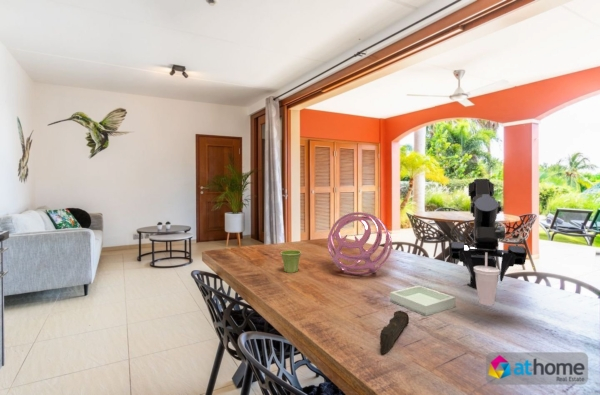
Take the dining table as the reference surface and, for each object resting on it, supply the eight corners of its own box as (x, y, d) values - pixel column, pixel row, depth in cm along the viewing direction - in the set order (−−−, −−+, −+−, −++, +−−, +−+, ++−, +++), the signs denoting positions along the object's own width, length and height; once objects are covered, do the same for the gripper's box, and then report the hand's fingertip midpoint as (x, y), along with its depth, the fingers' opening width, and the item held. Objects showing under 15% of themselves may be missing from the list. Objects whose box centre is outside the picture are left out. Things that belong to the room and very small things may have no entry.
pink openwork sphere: (352, 222, 163) (337, 194, 142) (405, 239, 147) (397, 211, 126) (327, 270, 154) (307, 247, 133) (381, 294, 138) (368, 272, 117)
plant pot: (301, 273, 138) (301, 254, 138) (280, 274, 138) (279, 254, 138) (301, 268, 147) (301, 249, 147) (281, 268, 148) (281, 250, 147)
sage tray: (418, 293, 111) (418, 285, 111) (455, 306, 99) (455, 297, 99) (390, 301, 104) (390, 292, 104) (425, 316, 92) (425, 306, 92)
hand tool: (394, 322, 89) (394, 306, 88) (409, 326, 86) (409, 309, 86) (370, 353, 73) (369, 333, 73) (387, 358, 71) (386, 337, 70)
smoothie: (496, 300, 89) (497, 251, 88) (502, 308, 83) (503, 256, 82) (471, 297, 91) (471, 249, 90) (475, 306, 85) (475, 254, 84)
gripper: (449, 214, 94) (447, 259, 84) (526, 216, 85) (533, 267, 76) (450, 236, 101) (449, 280, 92) (521, 240, 92) (527, 289, 83)
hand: (486, 279), depth 85 cm, fingers closed on smoothie, 6 cm apart
